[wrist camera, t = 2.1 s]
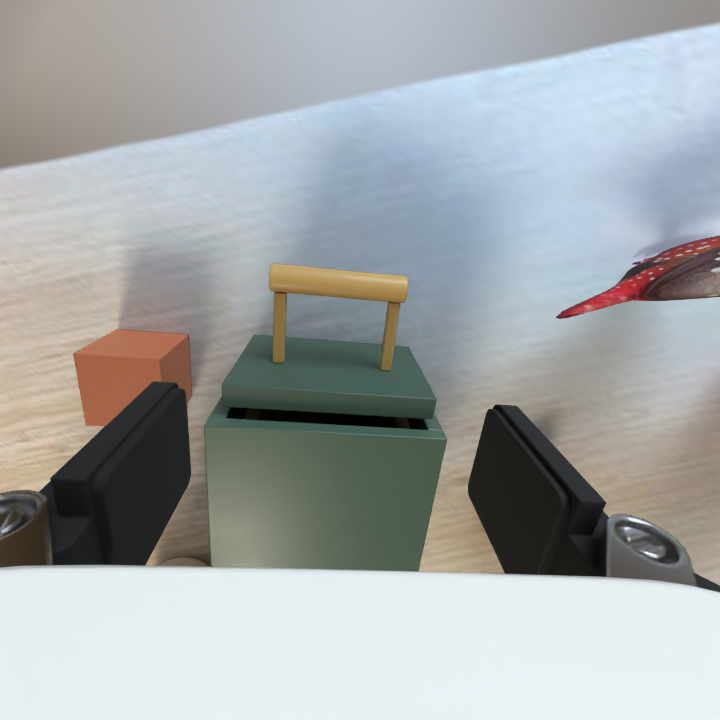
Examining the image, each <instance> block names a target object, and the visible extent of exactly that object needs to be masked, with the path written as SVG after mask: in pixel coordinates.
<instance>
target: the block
mask: <svg viewBox="0 0 720 720" xmlns="http://www.w3.org/2000/svg"><path fill="white" fill-rule="evenodd" d="M73 355H74V361H75V366H76V372H77V377H78V383H79V389H80V394H81V400H82V405H83V411H84V417H85V422H86V425H93V426H106V425H107V424H108V423H109V422H111V421H112V420H113V419H114V418H115V417H116V416H117V415H118V414H119V413H120V412H121V411H122V410H123V409H124V408H125V407H126V406H127V405H129V404H130V403H131V402H132V401H133V400H134V399H135V398H136V397H137V396H138V395H139V394H140V393H141V392H142V391H143V390H144V389H145V388H147V387H148V386H149V385H150V384H151V383H152V382H154V381H156V382H171V383H177V384H178V386H179V388H181V389H184V390H185V392H186V402H187V401H188V400H189V399H190V397H191V396H192V386H191V370H190V354H189V337H188V335H183V334H171V333H158V332H145V331H132V330H119V329H117V330H115V331H113V332H111V333H110V334H108V335H106V336H104V337H102V338H101V339H99V340H97V341H95V342H93V343H91V344H90V345H88V346H86V347H84V348H82V349H81V350H79V351H77V352H75V353H74V354H73Z"/></svg>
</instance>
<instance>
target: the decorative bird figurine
mask: <svg viewBox="0 0 720 720" xmlns="http://www.w3.org/2000/svg"><path fill="white" fill-rule="evenodd" d="M633 264H636V265H637V266H635V267H633V268H631V269H630V270H629V271H628V272H627V273H626V274H625V276H624V277H623V278H622V279H621V281H620V282H619V283H618V284H617V285H615V286H614V287H613V288H611V289H609V290H607V291H605V292H603V293H601V294H599V295H596V296H594V297H592V298H590V299H588V300H586V301H583V302H581V303H579V304H577V305H575V306H573V307H570V308H568V309H566V310H565V311H562V312H561V313H560V314H559V315H558V316H557V317H556V318H558V319H562V318H569V317H572V316H577V315H580V314H584V313H587V312H591V311H594V310H599V309H601V308H605V307H608V306H612V305H615V304H619V303H623V302H627V301H632V300H639V301H668V300H684V299H698V298H711V297H720V236H715V237H710V238H706V239H701V240H697V241H693V242H690V243H686V244H683V245H680V246H677V247H674V248H671V249H669V250H666V251H664V252H662V253H660V254H658V255H657V256H655V257H652V258H648V259H645V260H643V261H640V262H635V263H633ZM638 264H639V265H638Z"/></svg>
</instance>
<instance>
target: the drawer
mask: <svg viewBox="0 0 720 720" xmlns="http://www.w3.org/2000/svg"><path fill="white" fill-rule="evenodd" d="M269 287H270V291H274V292H275V293H274V323H273V336H265V335H254V336H253V337H252V339H251V340H250V342H249V344H248V345H247V347H246V348H245V350H244V351H243V353H242V354H241V356H240V358H239V359H238V361H237V362H236V364H235V365H234V367H233V368H232V370H231V372H230V373H229V375H228V376H227V378H226V379H225V381H224V382H223V384H222V406H223V407H235V408H248V409H247V411H246V414H245V416H244V418H243V419H245V420H263V421H280V422H297V423H315V424H332V425H349V426H366V427H384V428H401V429H410V426H409V423H408V420H407V418H417V419H433V415H434V410H435V405H436V397H435V395H434V394H433V392H432V390H431V388H430V386H429V384H428V382H427V381H426V379H425V377H424V375H423V373H422V371H421V369H420V367H419V366H418V364H417V362H416V360H415V358H414V356H413V354H412V353H411V351H410V349H409V347H405V346H394V344H395V337H396V330H397V323H398V316H399V309H400V303H404V302H405V300H406V297H407V291H408V279H407V277H406V276H397V275H387V274H376V273H366V272H356V271H345V270H335V269H325V268H314V267H304V266H293V265H283V264H271V267H270V274H269ZM287 293H296V294H307V295H318V296H329V297H340V298H352V299H363V300H374V301H385V302H388V305H387V312H386V320H385V328H384V335H383V343H382V345H379V344H367V343H354V342H341V341H329V340H316V339H303V338H291V337H285V335H286V307H287Z"/></svg>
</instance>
